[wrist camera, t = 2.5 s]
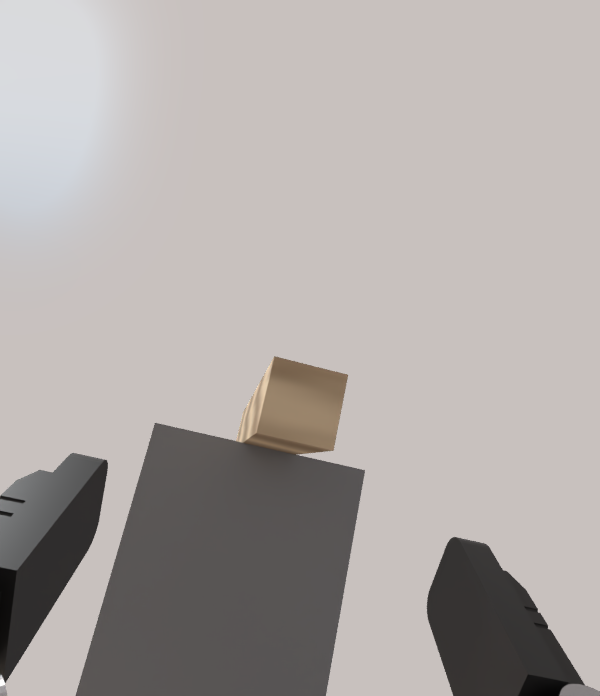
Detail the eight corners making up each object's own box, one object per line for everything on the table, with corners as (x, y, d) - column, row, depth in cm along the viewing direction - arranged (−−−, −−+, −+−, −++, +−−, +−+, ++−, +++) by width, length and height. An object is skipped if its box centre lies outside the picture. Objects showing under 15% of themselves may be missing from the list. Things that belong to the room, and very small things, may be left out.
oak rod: (333, 450, 19) (348, 375, 19) (256, 432, 18) (274, 356, 19) (270, 457, 40) (278, 421, 40) (234, 449, 39) (243, 412, 40)
